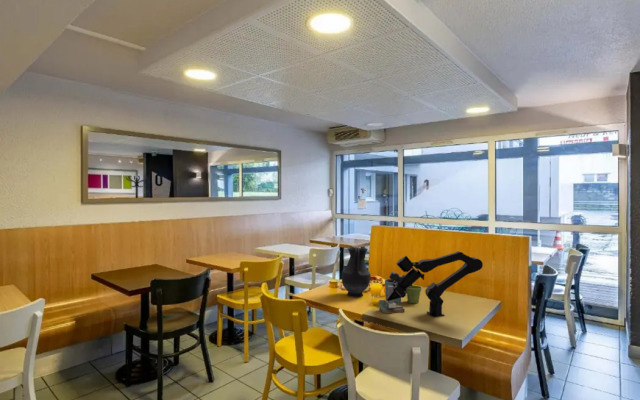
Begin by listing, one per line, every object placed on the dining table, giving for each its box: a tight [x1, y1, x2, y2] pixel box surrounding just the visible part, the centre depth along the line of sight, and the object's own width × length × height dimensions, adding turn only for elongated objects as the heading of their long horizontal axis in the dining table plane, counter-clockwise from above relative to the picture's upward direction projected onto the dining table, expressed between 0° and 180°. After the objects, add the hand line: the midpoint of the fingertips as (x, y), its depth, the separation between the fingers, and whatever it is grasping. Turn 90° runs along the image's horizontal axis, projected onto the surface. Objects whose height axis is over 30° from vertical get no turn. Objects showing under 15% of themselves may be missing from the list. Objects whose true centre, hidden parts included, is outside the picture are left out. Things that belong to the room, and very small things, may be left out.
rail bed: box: [378, 299, 405, 314], centre depth 190 cm, size 12×5×6 cm, turn 105°
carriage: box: [385, 286, 397, 308], centre depth 190 cm, size 4×5×10 cm
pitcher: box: [341, 246, 371, 298], centre depth 219 cm, size 17×21×30 cm
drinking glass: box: [384, 278, 402, 304], centre depth 209 cm, size 10×10×12 cm
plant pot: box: [406, 285, 423, 304], centre depth 209 cm, size 9×9×9 cm
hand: (387, 298), depth 190 cm, fingers open, 7 cm apart
